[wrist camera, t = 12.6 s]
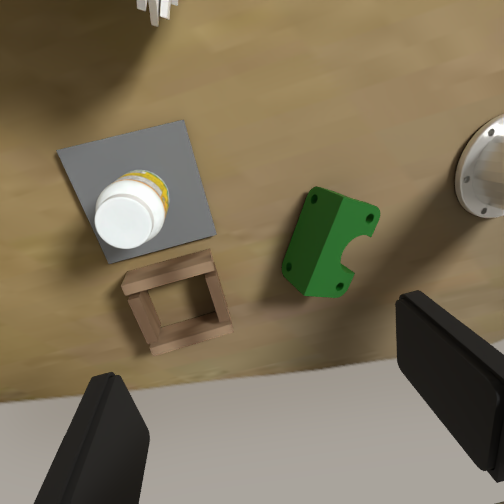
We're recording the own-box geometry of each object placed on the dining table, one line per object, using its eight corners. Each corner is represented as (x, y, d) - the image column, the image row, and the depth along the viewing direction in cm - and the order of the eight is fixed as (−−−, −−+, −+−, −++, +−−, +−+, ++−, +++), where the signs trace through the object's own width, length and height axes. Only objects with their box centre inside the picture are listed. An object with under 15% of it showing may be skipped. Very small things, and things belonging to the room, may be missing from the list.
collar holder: (209, 248, 36) (211, 260, 32) (230, 315, 39) (233, 332, 36) (127, 271, 35) (120, 285, 32) (156, 337, 39) (153, 356, 35)
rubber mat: (183, 119, 30) (183, 119, 29) (216, 232, 35) (216, 234, 34) (59, 149, 29) (56, 150, 28) (110, 261, 34) (108, 264, 33)
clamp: (307, 251, 43) (334, 306, 37) (271, 246, 40) (295, 305, 34) (362, 182, 36) (407, 237, 30) (324, 169, 33) (365, 228, 27)
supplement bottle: (133, 157, 30) (109, 170, 21) (180, 191, 32) (176, 215, 23) (104, 202, 31) (69, 231, 22) (151, 231, 33) (137, 269, 24)
